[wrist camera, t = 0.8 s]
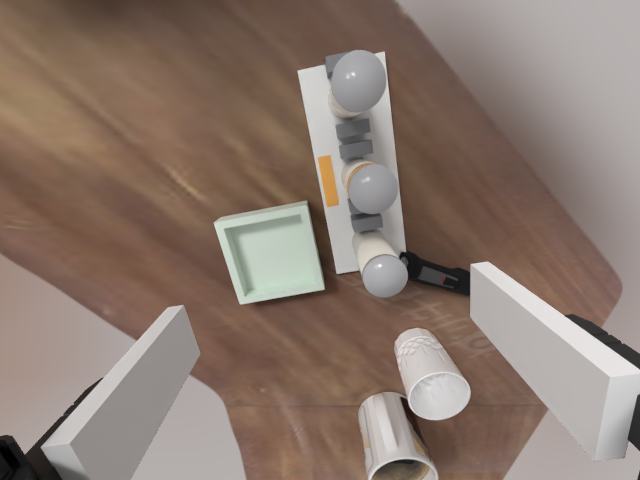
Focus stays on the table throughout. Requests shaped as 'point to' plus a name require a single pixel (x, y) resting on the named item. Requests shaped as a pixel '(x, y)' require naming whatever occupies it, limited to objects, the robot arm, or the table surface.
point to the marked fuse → (369, 185)
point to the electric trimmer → (435, 274)
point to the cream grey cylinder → (356, 84)
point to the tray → (271, 252)
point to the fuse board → (342, 146)
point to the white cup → (430, 376)
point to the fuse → (379, 264)
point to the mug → (393, 440)
